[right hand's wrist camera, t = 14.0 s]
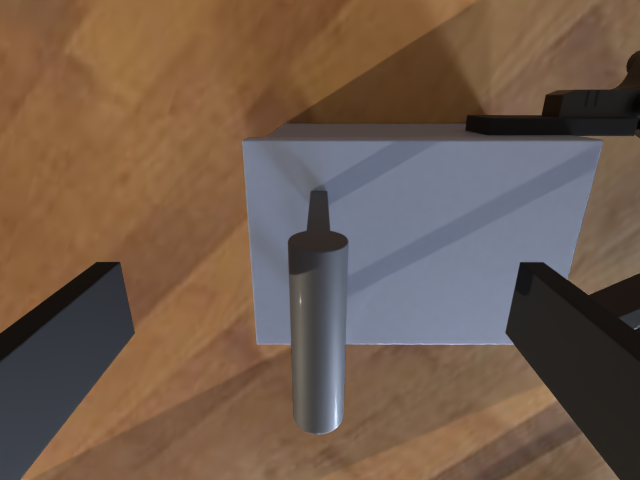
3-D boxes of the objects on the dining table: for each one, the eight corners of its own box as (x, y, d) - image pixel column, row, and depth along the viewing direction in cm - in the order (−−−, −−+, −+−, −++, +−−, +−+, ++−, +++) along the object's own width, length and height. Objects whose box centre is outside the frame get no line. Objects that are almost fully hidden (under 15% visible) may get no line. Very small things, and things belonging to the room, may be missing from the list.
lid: (259, 331, 19) (221, 480, 12) (246, 137, 16) (180, 172, 8) (538, 331, 19) (677, 480, 12) (586, 137, 16) (825, 172, 8)
